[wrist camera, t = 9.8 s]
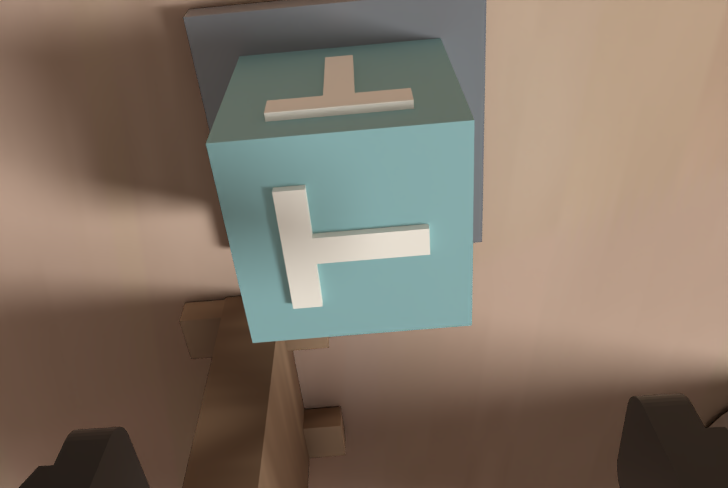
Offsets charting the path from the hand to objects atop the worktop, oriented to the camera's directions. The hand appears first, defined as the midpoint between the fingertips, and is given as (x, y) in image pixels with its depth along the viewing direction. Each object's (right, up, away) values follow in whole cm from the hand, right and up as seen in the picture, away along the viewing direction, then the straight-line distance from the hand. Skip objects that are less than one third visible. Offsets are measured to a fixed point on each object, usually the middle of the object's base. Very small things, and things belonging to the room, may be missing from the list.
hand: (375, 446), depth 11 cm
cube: (-1, +6, +9) cm, 11 cm away
